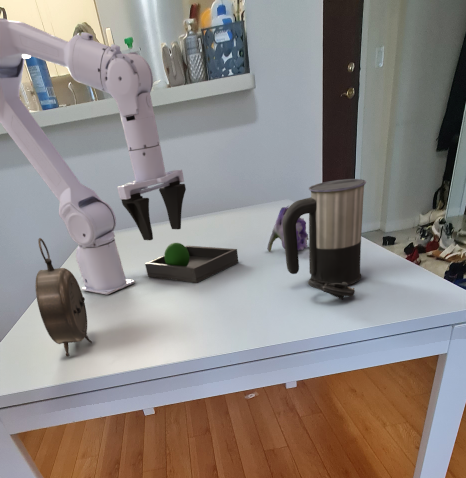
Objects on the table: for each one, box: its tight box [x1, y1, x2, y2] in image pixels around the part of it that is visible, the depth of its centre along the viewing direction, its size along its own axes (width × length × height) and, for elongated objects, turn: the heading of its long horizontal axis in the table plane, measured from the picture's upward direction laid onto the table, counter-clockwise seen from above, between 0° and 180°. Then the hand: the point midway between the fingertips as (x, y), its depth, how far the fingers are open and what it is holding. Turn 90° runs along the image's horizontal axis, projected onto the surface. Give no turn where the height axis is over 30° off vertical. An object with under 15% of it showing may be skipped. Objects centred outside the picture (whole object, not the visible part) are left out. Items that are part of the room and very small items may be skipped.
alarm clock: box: [34, 237, 93, 358], centre depth 72 cm, size 11×5×16 cm, turn 5°
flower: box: [267, 205, 309, 253], centre depth 100 cm, size 9×9×10 cm
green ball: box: [163, 242, 189, 266], centre depth 98 cm, size 5×5×5 cm
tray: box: [144, 245, 239, 284], centre depth 101 cm, size 16×14×3 cm
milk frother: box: [283, 178, 367, 301], centre depth 76 cm, size 14×16×15 cm
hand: (162, 234), depth 89 cm, fingers open, 7 cm apart
